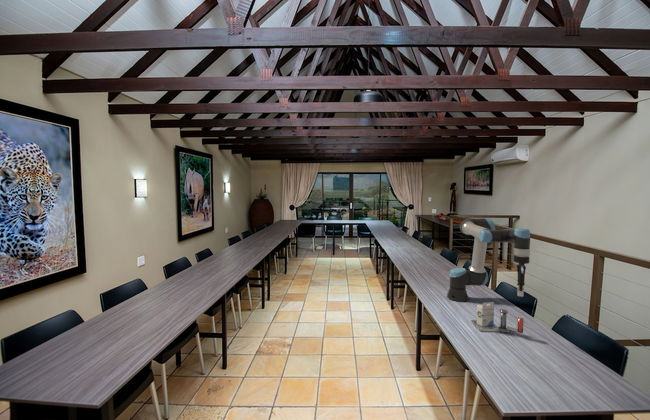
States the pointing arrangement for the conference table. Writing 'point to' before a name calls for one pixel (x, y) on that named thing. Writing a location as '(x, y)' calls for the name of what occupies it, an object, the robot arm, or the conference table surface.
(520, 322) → the lever
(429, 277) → the conference table surface
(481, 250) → the robot arm
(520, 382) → the conference table surface
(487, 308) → the ink box
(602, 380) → the conference table surface
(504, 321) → the press
